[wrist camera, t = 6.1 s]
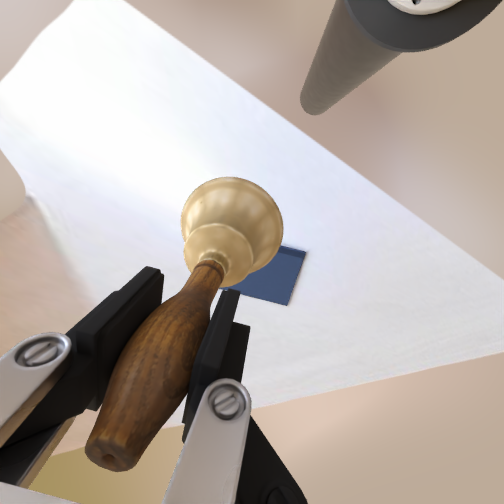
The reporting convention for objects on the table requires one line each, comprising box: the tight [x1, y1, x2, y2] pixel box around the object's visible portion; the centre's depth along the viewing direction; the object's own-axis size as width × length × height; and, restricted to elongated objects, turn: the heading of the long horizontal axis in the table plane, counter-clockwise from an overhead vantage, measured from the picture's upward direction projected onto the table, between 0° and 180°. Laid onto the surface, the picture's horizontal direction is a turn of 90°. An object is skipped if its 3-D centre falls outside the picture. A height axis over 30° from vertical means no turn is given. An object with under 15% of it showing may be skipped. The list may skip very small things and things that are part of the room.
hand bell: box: [85, 177, 283, 472], centre depth 13 cm, size 8×8×16 cm
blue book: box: [219, 246, 306, 306], centre depth 40 cm, size 10×16×1 cm, turn 77°
